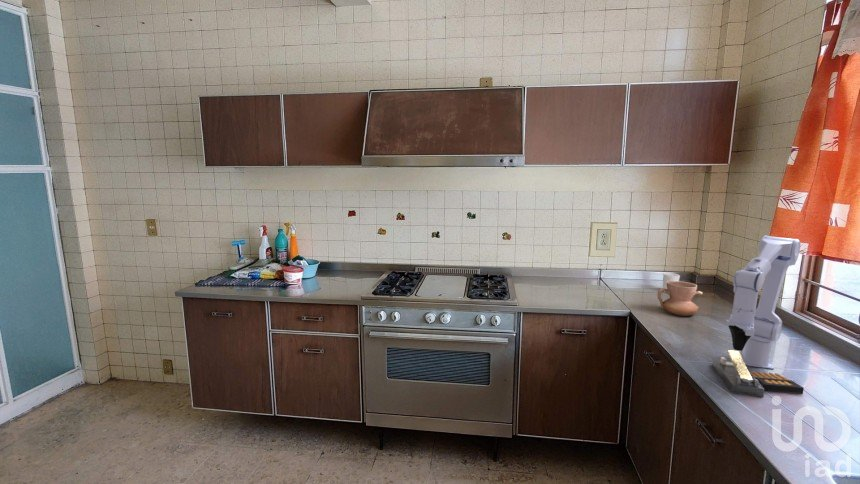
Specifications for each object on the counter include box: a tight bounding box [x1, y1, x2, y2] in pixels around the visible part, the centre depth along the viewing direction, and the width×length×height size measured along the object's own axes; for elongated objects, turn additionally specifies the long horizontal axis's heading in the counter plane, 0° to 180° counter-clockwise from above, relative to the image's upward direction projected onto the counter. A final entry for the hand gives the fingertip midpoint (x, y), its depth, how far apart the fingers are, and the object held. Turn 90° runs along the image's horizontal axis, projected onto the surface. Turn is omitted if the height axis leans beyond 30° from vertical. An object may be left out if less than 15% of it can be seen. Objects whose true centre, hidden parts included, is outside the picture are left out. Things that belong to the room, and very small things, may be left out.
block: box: [711, 357, 766, 398], centre depth 134 cm, size 19×8×4 cm, turn 161°
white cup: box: [662, 272, 681, 289], centre depth 232 cm, size 8×8×10 cm
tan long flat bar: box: [727, 349, 753, 384], centre depth 132 cm, size 15×3×1 cm, turn 161°
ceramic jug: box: [657, 280, 703, 317], centre depth 197 cm, size 18×14×14 cm
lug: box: [719, 356, 734, 367], centre depth 139 cm, size 2×6×2 cm, turn 72°
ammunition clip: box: [750, 370, 805, 395], centre depth 133 cm, size 11×2×12 cm
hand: (737, 349), depth 135 cm, fingers closed
